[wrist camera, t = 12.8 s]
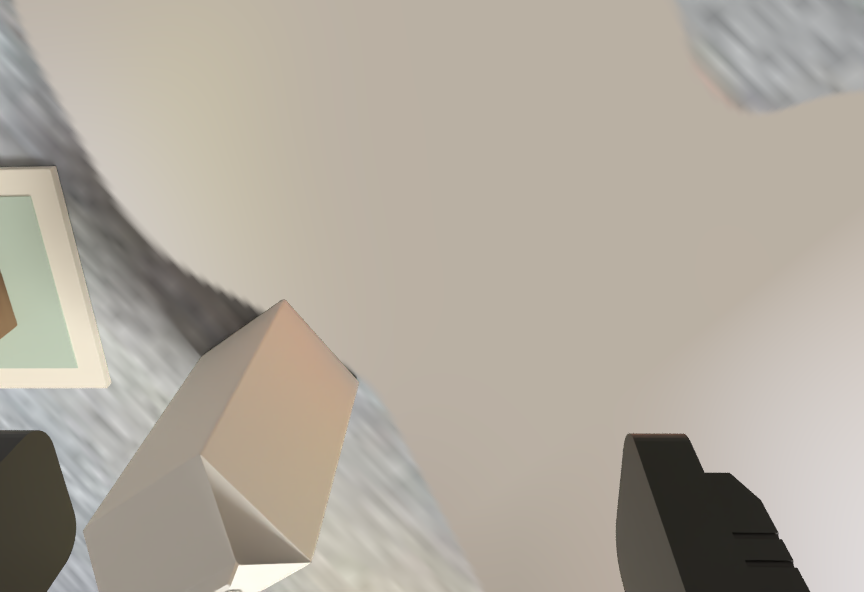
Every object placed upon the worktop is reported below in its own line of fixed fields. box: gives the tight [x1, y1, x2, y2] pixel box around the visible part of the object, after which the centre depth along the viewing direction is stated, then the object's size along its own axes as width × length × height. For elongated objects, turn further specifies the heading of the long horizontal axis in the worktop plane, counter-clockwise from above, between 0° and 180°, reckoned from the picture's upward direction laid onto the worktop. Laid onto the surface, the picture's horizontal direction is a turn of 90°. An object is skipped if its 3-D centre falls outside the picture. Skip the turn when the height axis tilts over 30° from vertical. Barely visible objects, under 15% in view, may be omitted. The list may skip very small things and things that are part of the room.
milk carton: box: [83, 300, 359, 592], centre depth 36 cm, size 7×7×19 cm
